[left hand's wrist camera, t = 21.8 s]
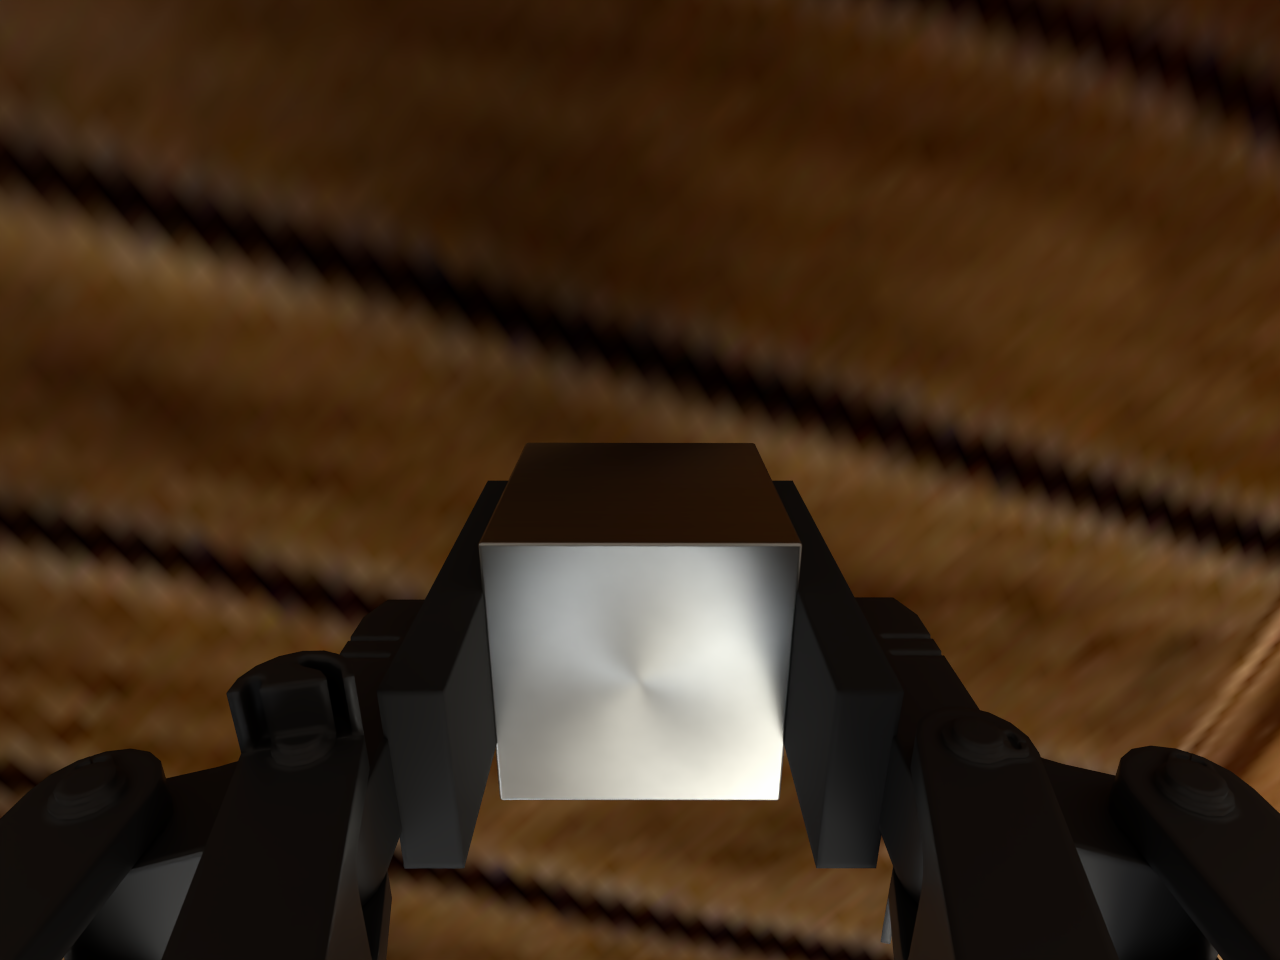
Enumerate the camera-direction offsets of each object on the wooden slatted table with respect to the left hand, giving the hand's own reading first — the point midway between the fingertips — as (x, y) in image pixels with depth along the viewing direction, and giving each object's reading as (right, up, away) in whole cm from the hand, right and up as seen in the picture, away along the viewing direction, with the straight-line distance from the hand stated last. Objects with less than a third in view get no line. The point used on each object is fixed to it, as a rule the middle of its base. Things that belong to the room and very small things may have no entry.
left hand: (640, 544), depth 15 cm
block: (0, 0, 0) cm, 0 cm away
